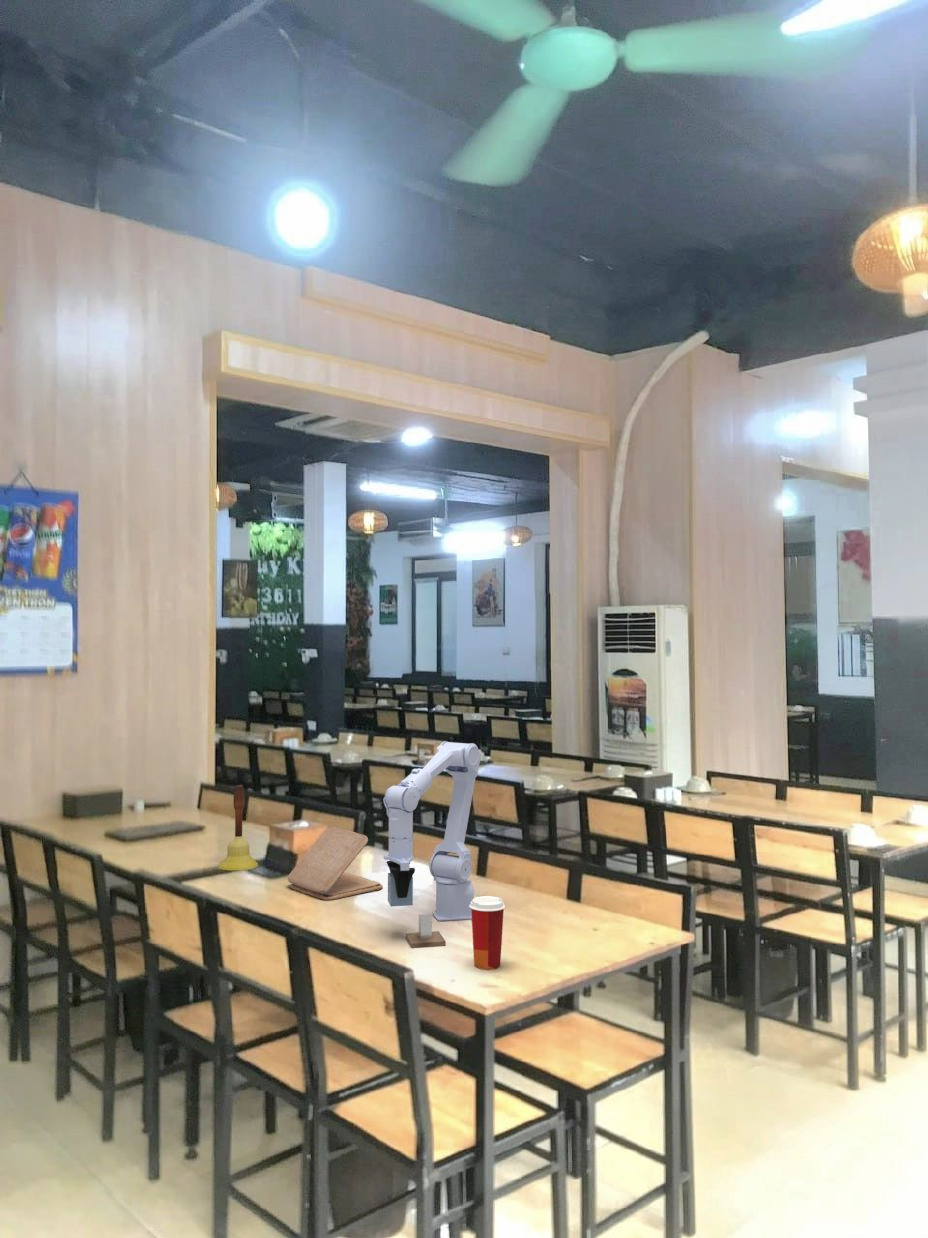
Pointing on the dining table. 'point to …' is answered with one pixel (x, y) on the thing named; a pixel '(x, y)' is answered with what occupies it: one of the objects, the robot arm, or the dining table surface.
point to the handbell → (238, 839)
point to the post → (425, 926)
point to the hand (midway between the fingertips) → (400, 894)
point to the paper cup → (487, 931)
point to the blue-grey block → (392, 893)
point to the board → (425, 940)
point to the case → (332, 867)
